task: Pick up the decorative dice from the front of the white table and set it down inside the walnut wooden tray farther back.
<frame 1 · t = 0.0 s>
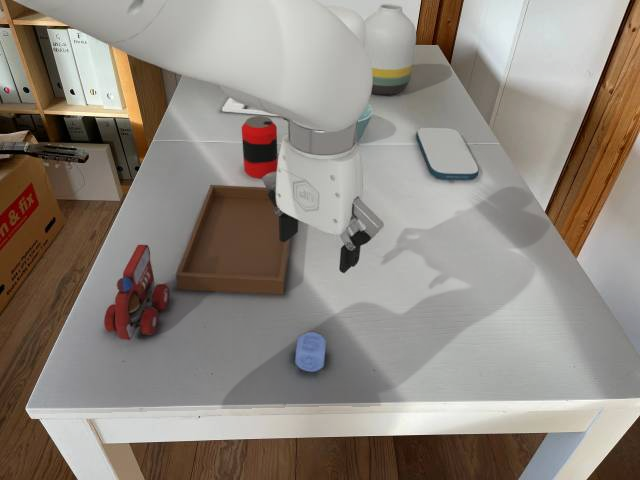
hand: (317, 251, 65), 17 cm above the table, tool pointing down, fingers open, 9 cm apart
bowl: (339, 138, 128), on the table
vase: (381, 89, 155), on the table
toy fire truck: (140, 317, 78), on the table
photo frame: (260, 104, 143), on the table
tray: (243, 240, 94), on the table
decorative dice: (310, 361, 73), on the table
external hard drive: (444, 157, 122), on the table
soda can: (261, 171, 114), on the table
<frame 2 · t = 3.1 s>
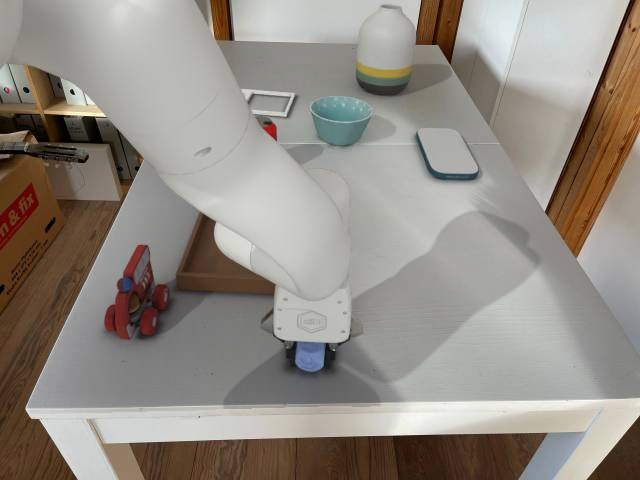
hand: (310, 359, 72), 0 cm above the table, tool pointing down, fingers closed on decorative dice, 4 cm apart
decorative dice: (310, 361, 72), on the table, touching gripper
everything else where it was.
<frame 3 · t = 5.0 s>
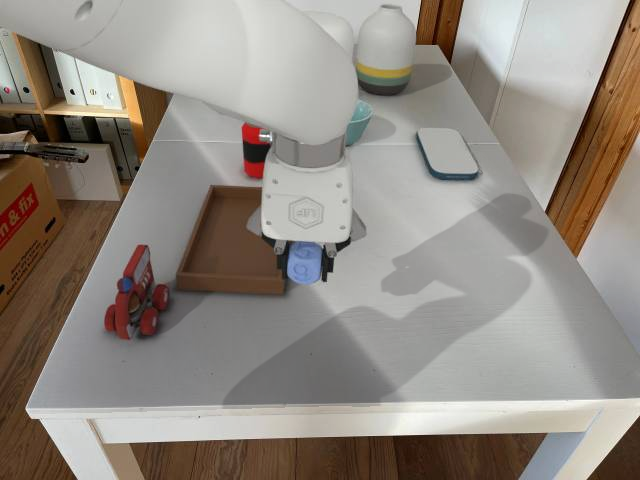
hand: (305, 272, 63), 16 cm above the table, tool pointing down, fingers closed on decorative dice, 4 cm apart
decorative dice: (305, 275, 63), point 16 cm above the table, touching gripper
everything else where it was.
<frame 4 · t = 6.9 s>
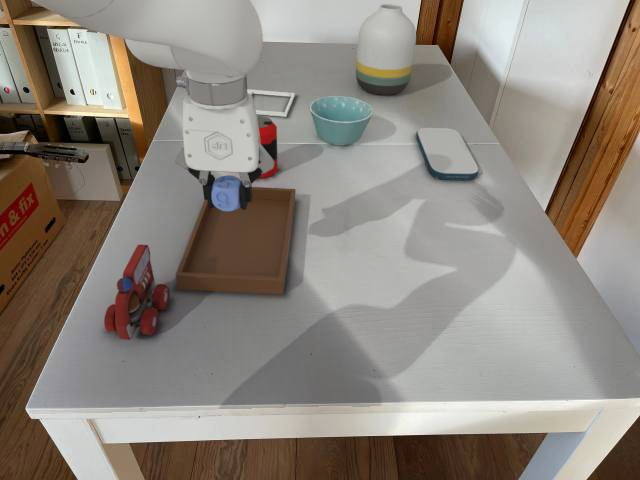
hand: (228, 202, 76), 16 cm above the table, tool pointing down, fingers closed on decorative dice, 4 cm apart
decorative dice: (229, 205, 76), point 15 cm above the table, touching gripper
everything else where it was.
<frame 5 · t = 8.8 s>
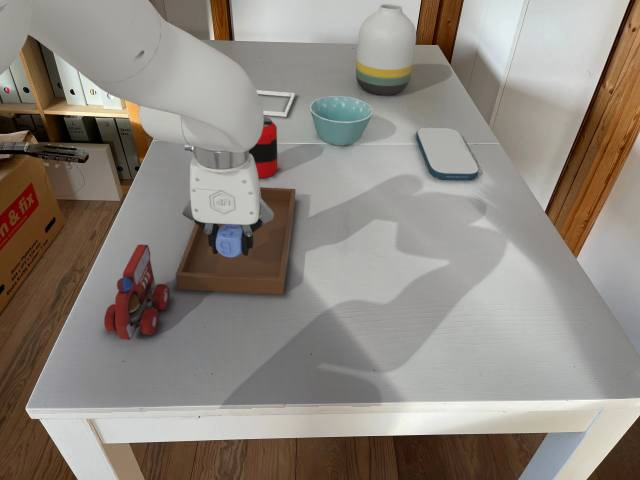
hand: (231, 248, 82), 6 cm above the table, tool pointing down, fingers closed on decorative dice, 4 cm apart
decorative dice: (232, 250, 82), point 6 cm above the table, touching gripper
everything else where it was.
when the fingers open (1 cm above the table, at t = 10.6 s): decorative dice stays where it is, resting on tray.
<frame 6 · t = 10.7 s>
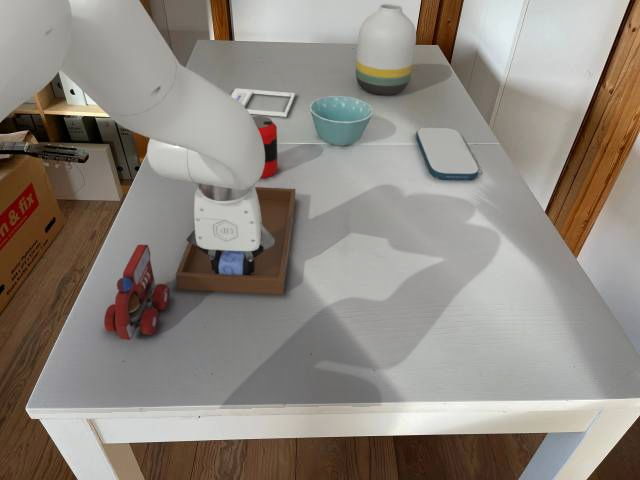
hand: (234, 272, 85), 1 cm above the table, tool pointing down, fingers open, 4 cm apart
decorative dice: (234, 274, 85), point 1 cm above the table, touching tray
everything else where it was.
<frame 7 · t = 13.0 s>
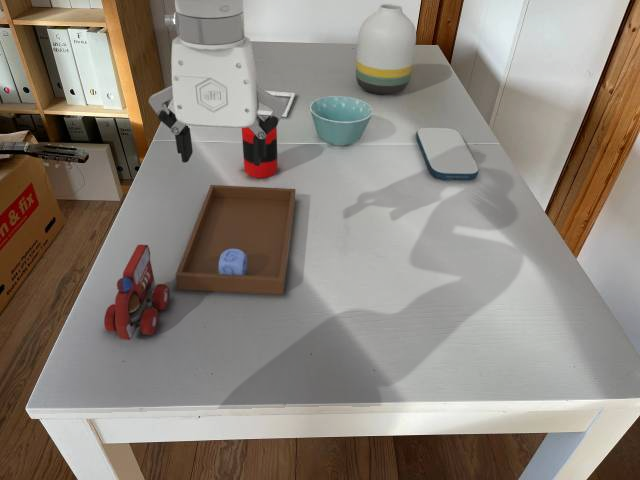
hand: (222, 159, 68), 25 cm above the table, tool pointing down, fingers open, 9 cm apart
nothing on the table moved.
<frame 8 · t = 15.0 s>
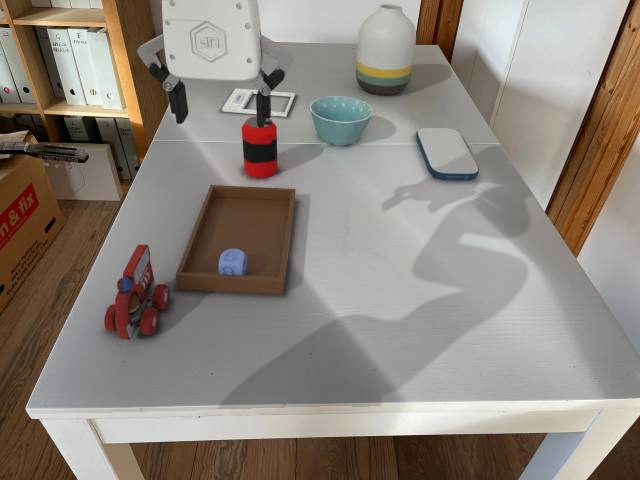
hand: (222, 121, 60), 32 cm above the table, tool pointing down, fingers open, 9 cm apart
nothing on the table moved.
at the end: decorative dice inside the target area in the tray (10.1 cm from its centre), point 0.6 cm above the tray's base; the gripper is holding nothing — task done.
